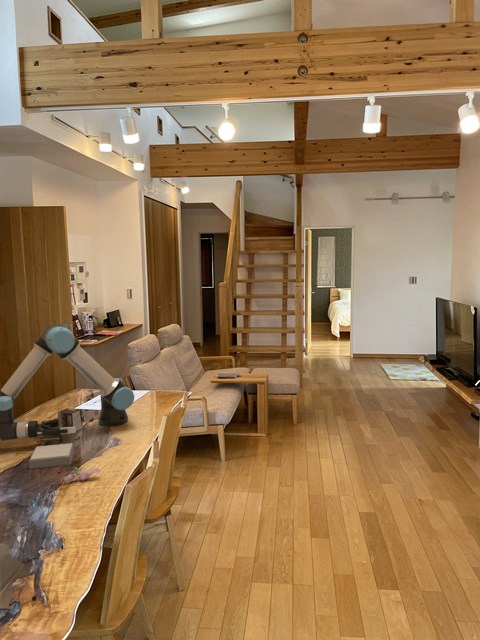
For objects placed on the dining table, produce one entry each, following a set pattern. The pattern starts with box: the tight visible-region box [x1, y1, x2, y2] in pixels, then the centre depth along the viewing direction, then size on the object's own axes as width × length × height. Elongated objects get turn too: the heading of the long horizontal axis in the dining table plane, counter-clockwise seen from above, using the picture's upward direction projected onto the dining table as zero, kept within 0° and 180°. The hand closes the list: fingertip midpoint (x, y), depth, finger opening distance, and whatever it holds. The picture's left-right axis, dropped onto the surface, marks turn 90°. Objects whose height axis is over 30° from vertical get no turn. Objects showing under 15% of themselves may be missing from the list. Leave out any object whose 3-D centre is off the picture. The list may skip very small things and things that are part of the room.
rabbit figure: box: [60, 466, 102, 485], centre depth 196 cm, size 6×6×15 cm
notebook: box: [41, 426, 60, 442], centre depth 255 cm, size 13×2×21 cm
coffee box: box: [57, 408, 85, 448], centre depth 237 cm, size 9×6×16 cm
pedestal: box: [28, 443, 75, 470], centre depth 218 cm, size 16×16×4 cm
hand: (77, 425), depth 237 cm, fingers open, 13 cm apart
